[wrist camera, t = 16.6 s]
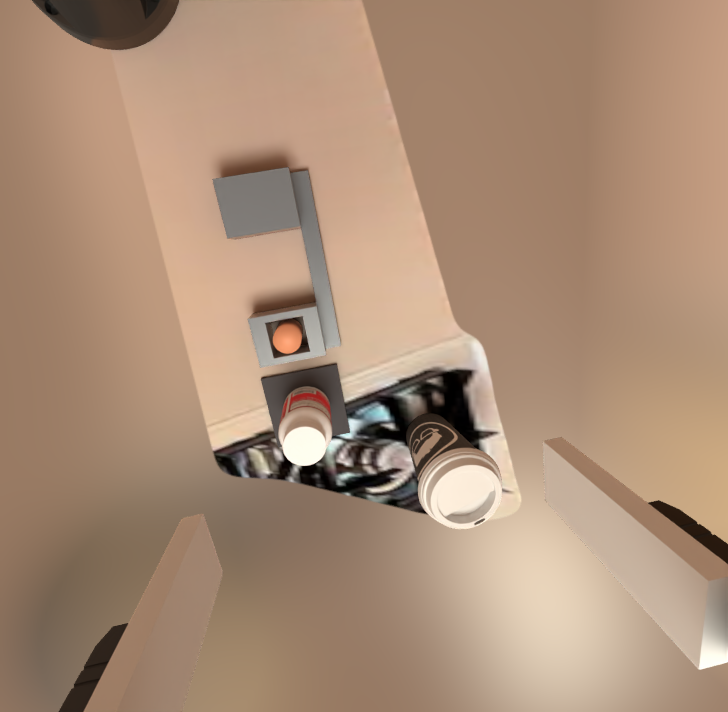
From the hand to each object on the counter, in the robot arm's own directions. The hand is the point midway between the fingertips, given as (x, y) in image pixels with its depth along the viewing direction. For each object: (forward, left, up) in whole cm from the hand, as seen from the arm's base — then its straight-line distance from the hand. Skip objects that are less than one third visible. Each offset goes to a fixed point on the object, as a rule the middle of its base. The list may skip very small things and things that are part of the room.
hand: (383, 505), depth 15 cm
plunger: (0, -6, -36) cm, 37 cm away
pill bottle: (+10, -6, -36) cm, 38 cm away
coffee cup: (+18, +10, -37) cm, 42 cm away
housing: (-8, -5, -37) cm, 38 cm away
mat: (+10, -6, -37) cm, 39 cm away
